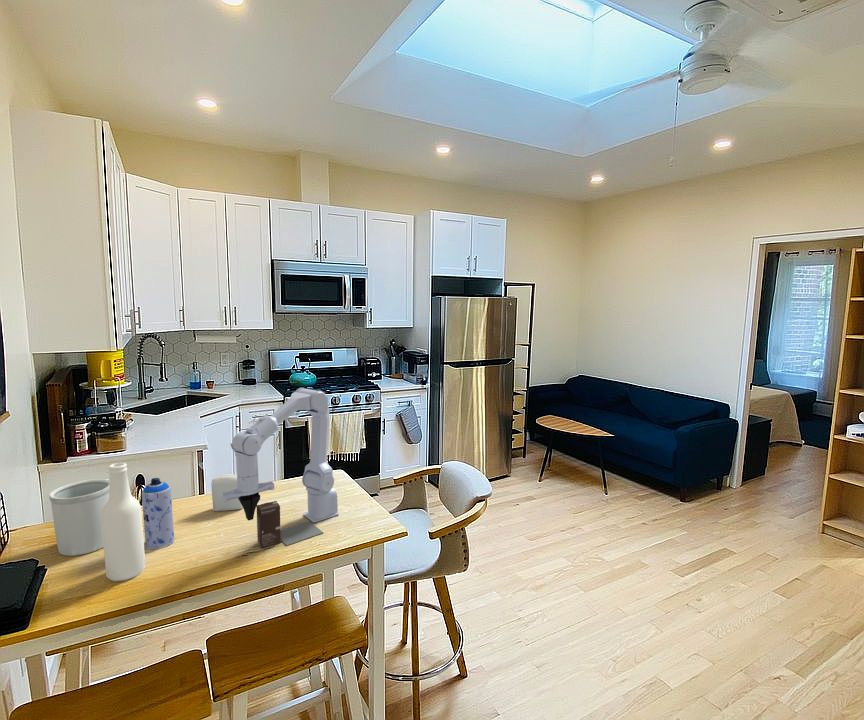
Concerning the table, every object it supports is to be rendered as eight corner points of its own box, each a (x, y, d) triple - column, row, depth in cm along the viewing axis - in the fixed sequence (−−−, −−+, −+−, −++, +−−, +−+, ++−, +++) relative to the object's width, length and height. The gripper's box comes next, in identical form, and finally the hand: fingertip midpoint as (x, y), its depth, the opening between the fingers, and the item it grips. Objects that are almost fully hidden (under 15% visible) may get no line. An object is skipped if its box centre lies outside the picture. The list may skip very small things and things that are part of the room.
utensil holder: (43, 551, 135) (36, 493, 133) (96, 528, 149) (91, 475, 146) (76, 561, 130) (70, 502, 127) (128, 537, 143) (123, 482, 141)
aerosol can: (141, 542, 140) (136, 478, 137) (170, 533, 146) (165, 472, 143) (149, 552, 135) (144, 486, 132) (178, 542, 140) (174, 478, 138)
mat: (309, 521, 154) (309, 520, 154) (323, 533, 146) (323, 532, 146) (273, 533, 146) (273, 532, 146) (286, 546, 138) (286, 545, 138)
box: (261, 549, 137) (259, 510, 135) (257, 542, 140) (255, 504, 139) (281, 543, 140) (280, 505, 138) (277, 537, 144) (276, 499, 142)
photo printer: (211, 512, 160) (209, 477, 159) (214, 506, 164) (213, 473, 163) (242, 510, 162) (240, 476, 160) (245, 505, 166) (243, 471, 164)
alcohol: (106, 570, 126) (96, 463, 122) (144, 560, 131) (136, 457, 127) (106, 586, 118) (96, 473, 115) (147, 575, 123) (138, 466, 120)
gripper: (267, 464, 141) (269, 507, 143) (216, 475, 132) (219, 521, 134) (276, 471, 136) (278, 515, 138) (224, 483, 127) (226, 530, 129)
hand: (249, 518), depth 136 cm, fingers closed
